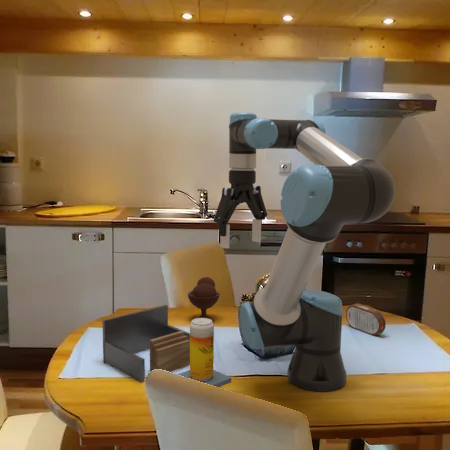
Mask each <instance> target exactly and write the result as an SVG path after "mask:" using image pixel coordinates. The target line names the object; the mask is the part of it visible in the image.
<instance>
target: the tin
mask: <svg viewBox="0 0 450 450" xmlns="http://www.w3.org/2000/svg"><path fill="white" fill-rule="evenodd" d="M345 311H346V312H345V315H346V321H347V323H348V325H349V326H350V327H351V328H352V329H355V330H357V331H359V332H363V333H364V334H365V333H366V334H367V335H371V336H377V335H381V334H382V333H384V332H385V329H386V327H387V325H386V323H387V322H386V319H385V317H384V315H383V313H382V312H381V311H379V310H378V309H376V308H373V307H369V306H367V305H363V304H361V303H353V304H351V305H349V306H348V307H347V308H346V310H345Z"/></svg>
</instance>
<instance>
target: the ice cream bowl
mask: <svg viewBox="0 0 450 450" xmlns="http://www.w3.org/2000/svg"><path fill="white" fill-rule="evenodd" d="M220 295H221V293H220V292H219V291H217V289H216V282H215V281H214V280H213V278H211V277H210V276H209V277H208V276H205V277H201V278H199V279H198V281H197V283H196V285H195V287H193V289H192V290H190V291H189V292H188V293H187V297H188V300H189V302H190V303H191V304H192V305H193V306H194V307H196V308H197V309H199V310H200V311H201V312H200V313H201V314H200V315H199V316H197V317H196V318H208V319H211V320H212V318H211V316H209V315H207V311H208V309H211V308H212V307H213V306H215V305H216V304H217V302H218V300H219V298H220ZM212 321H213V320H212Z"/></svg>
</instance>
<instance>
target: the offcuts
mask: <svg viewBox="0 0 450 450" xmlns="http://www.w3.org/2000/svg"><path fill="white" fill-rule="evenodd" d="M184 331H185V330H183V331H179V332H175V333H172V334H168V335H165V336H161V337H158V338H155V339H151V340H150V349H149V372H150V371H152V370H154V369H162V370H166V371H169V372H168V373H170V372H173V371H177V370H179V369H183V368H186V367H188V366H190V341H189V340H187V336H186V335H185V332H184Z"/></svg>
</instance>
